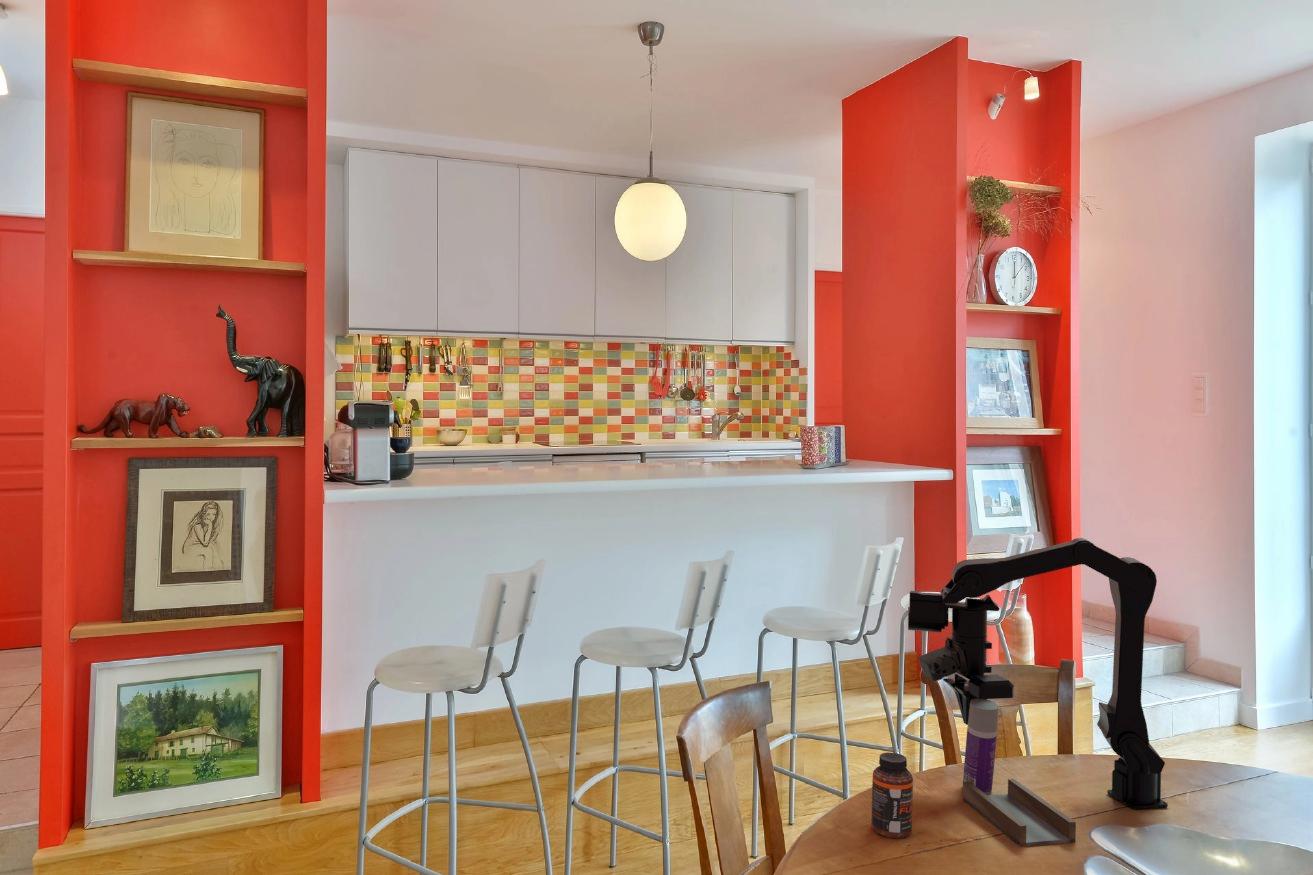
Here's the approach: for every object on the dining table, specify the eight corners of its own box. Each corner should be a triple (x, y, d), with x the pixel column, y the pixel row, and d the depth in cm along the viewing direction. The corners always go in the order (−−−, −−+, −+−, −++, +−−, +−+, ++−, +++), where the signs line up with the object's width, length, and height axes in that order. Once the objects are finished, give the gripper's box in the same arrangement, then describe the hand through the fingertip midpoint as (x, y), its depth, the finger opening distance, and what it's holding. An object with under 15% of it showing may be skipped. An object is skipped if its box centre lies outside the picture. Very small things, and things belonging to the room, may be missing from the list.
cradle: (1013, 796, 144) (1013, 778, 144) (1075, 841, 128) (1075, 821, 128) (963, 799, 143) (963, 781, 143) (1020, 846, 127) (1020, 826, 127)
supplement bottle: (905, 844, 127) (906, 767, 127) (866, 833, 130) (867, 758, 130) (916, 828, 132) (917, 754, 132) (878, 818, 136) (879, 746, 135)
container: (994, 797, 144) (1001, 711, 142) (964, 793, 145) (971, 708, 143) (989, 782, 149) (996, 699, 146) (960, 778, 150) (967, 696, 147)
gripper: (901, 623, 158) (900, 708, 158) (952, 649, 139) (951, 746, 139) (958, 621, 159) (957, 706, 160) (1016, 647, 141) (1015, 742, 141)
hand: (967, 724), depth 150 cm, fingers closed
